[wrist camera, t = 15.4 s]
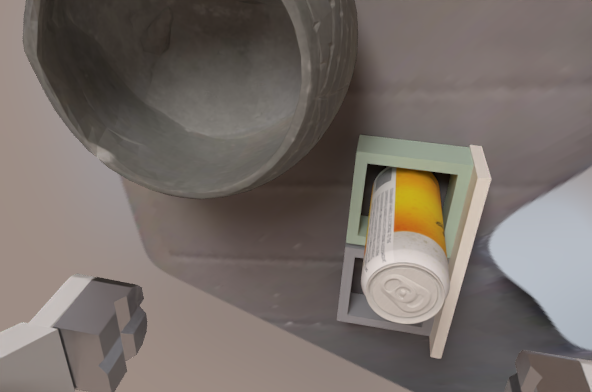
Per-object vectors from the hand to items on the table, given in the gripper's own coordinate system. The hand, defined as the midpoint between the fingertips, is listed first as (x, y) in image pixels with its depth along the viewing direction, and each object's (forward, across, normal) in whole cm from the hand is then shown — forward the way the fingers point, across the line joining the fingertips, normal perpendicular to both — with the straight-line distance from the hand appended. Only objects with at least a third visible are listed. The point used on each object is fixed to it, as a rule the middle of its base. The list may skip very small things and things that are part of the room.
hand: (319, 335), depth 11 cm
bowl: (+34, +12, +1) cm, 36 cm away
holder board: (+34, -4, +20) cm, 40 cm away
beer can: (+34, -4, +15) cm, 38 cm away
